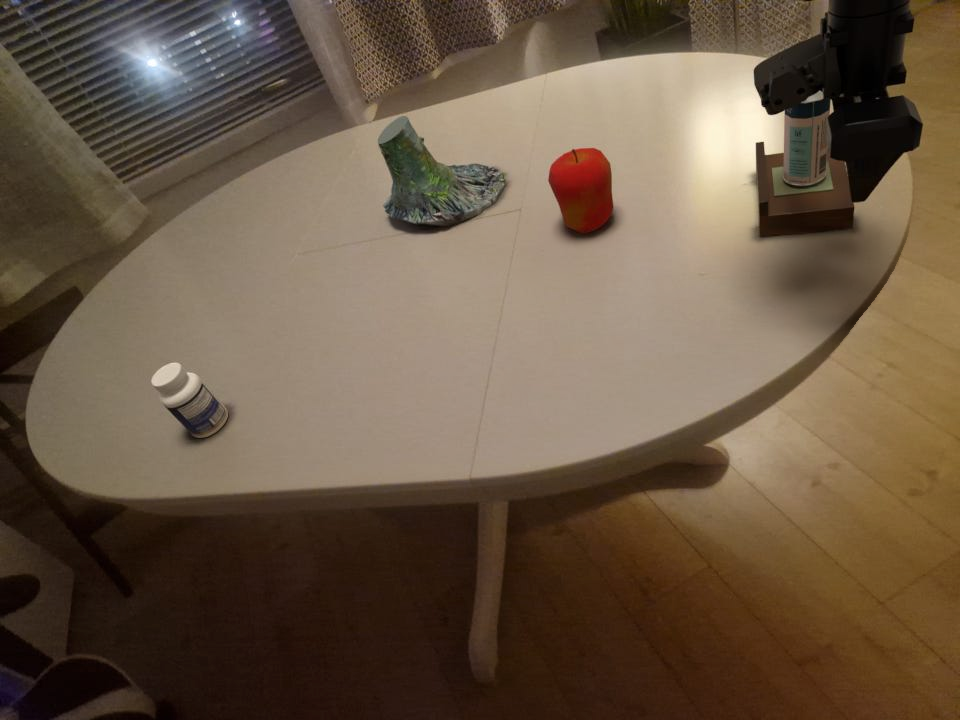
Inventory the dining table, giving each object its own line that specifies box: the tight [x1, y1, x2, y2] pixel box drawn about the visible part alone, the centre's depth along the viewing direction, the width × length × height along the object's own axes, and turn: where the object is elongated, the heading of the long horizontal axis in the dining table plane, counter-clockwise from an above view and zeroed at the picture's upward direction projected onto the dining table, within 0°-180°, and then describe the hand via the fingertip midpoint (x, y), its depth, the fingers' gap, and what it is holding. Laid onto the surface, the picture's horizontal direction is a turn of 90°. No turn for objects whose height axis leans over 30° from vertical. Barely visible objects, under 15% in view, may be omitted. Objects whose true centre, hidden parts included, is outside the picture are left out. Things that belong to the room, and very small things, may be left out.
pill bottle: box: [150, 362, 229, 439], centre depth 83 cm, size 5×5×10 cm
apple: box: [547, 147, 614, 234], centre depth 89 cm, size 9×8×12 cm
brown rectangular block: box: [755, 141, 855, 238], centre depth 81 cm, size 10×14×5 cm
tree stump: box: [377, 115, 506, 227], centre depth 105 cm, size 18×20×18 cm
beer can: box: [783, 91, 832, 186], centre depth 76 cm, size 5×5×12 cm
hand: (851, 174), depth 62 cm, fingers open, 9 cm apart
